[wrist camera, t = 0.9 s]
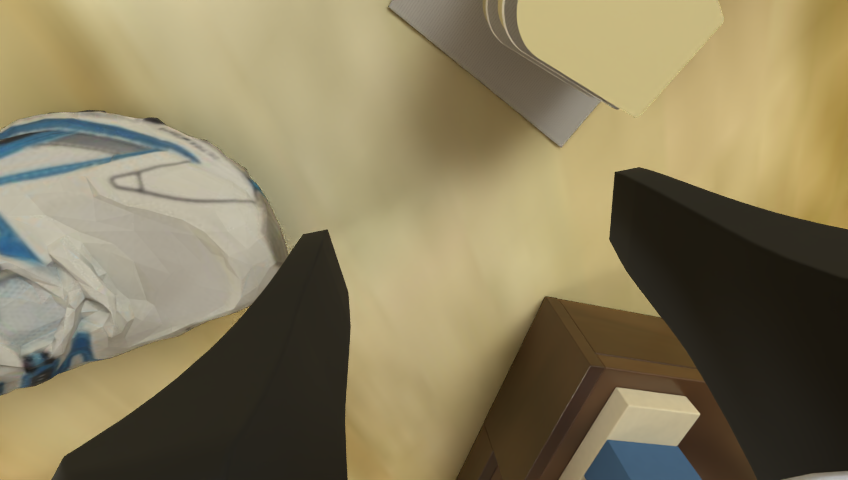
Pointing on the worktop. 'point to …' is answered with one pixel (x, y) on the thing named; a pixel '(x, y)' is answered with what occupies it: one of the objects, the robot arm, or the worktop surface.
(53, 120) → the athletic shoe
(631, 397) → the cream and blue block
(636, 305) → the worktop surface
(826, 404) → the robot arm
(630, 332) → the brown block holder
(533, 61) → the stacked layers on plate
